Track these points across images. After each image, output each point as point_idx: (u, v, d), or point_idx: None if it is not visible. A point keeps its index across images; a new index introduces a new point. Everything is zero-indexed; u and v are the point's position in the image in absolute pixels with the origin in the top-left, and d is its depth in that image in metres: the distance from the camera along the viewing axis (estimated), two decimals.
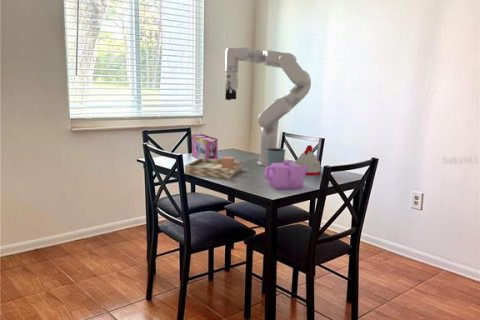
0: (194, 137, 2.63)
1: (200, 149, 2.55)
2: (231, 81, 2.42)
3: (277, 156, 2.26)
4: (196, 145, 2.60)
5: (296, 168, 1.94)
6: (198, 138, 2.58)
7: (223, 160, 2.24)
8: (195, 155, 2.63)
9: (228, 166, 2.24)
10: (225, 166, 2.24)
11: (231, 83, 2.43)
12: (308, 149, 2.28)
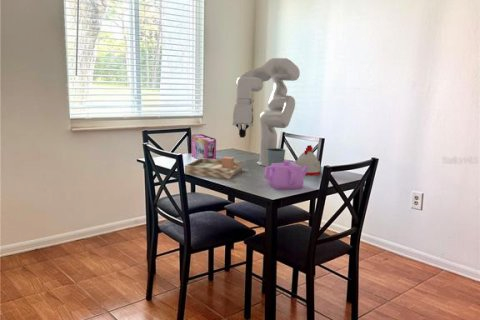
0: (193, 137, 2.63)
1: (199, 149, 2.55)
2: None
3: (277, 156, 2.26)
4: (195, 145, 2.60)
5: (296, 168, 1.94)
6: (197, 138, 2.57)
7: (223, 160, 2.24)
8: (194, 155, 2.63)
9: (228, 166, 2.24)
10: (225, 166, 2.24)
11: None
12: (308, 149, 2.28)
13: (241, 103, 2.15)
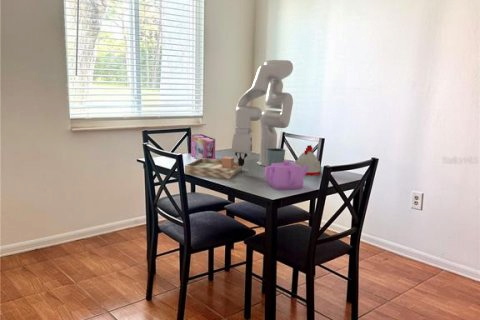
0: (193, 137, 2.63)
1: (198, 149, 2.55)
2: (251, 144, 2.22)
3: (277, 156, 2.26)
4: (195, 145, 2.60)
5: (296, 168, 1.94)
6: (196, 138, 2.57)
7: (223, 160, 2.24)
8: (194, 155, 2.63)
9: (228, 166, 2.24)
10: (225, 166, 2.24)
11: None
12: (308, 149, 2.28)
13: (240, 133, 2.17)
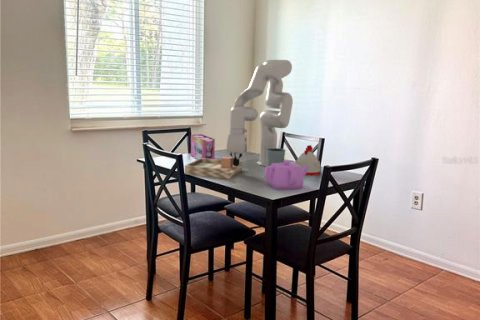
0: (193, 137, 2.63)
1: (197, 149, 2.55)
2: (246, 144, 2.23)
3: (277, 156, 2.26)
4: (194, 145, 2.60)
5: (296, 168, 1.94)
6: (196, 138, 2.57)
7: (222, 160, 2.24)
8: (193, 155, 2.63)
9: (227, 166, 2.24)
10: (224, 166, 2.24)
11: (246, 146, 2.23)
12: (308, 149, 2.28)
13: (235, 133, 2.18)
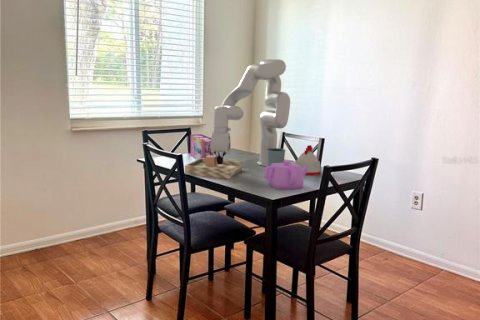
0: (192, 137, 2.63)
1: (197, 149, 2.55)
2: (230, 142, 2.26)
3: (277, 156, 2.26)
4: (194, 145, 2.60)
5: (296, 168, 1.94)
6: (195, 138, 2.57)
7: (206, 158, 2.26)
8: (193, 155, 2.63)
9: (211, 165, 2.26)
10: (208, 165, 2.27)
11: (230, 144, 2.26)
12: (308, 149, 2.28)
13: (218, 131, 2.21)
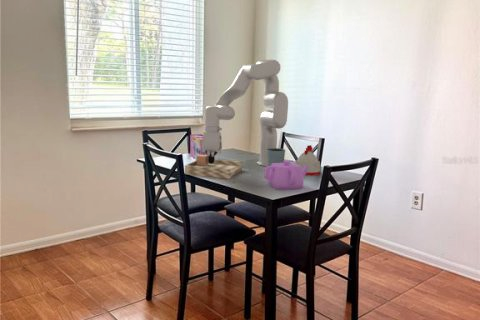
0: (192, 137, 2.63)
1: (196, 149, 2.55)
2: (221, 142, 2.27)
3: (277, 156, 2.26)
4: (193, 145, 2.60)
5: (296, 168, 1.94)
6: (195, 138, 2.57)
7: (197, 158, 2.28)
8: (192, 155, 2.63)
9: (202, 164, 2.28)
10: (199, 164, 2.28)
11: (221, 144, 2.27)
12: (308, 149, 2.28)
13: (209, 131, 2.22)
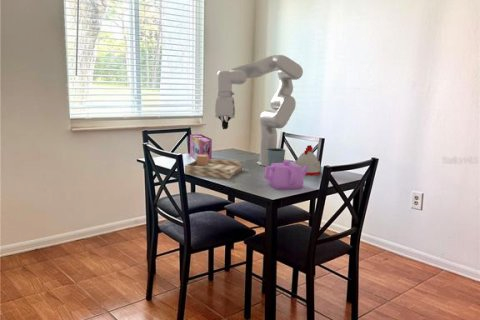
0: (191, 137, 2.63)
1: (195, 149, 2.55)
2: (234, 107, 2.26)
3: (277, 156, 2.26)
4: (192, 145, 2.60)
5: (296, 168, 1.94)
6: (194, 138, 2.57)
7: (197, 158, 2.28)
8: (192, 155, 2.63)
9: (202, 164, 2.28)
10: (199, 164, 2.28)
11: (234, 109, 2.27)
12: (308, 149, 2.28)
13: (222, 96, 2.21)
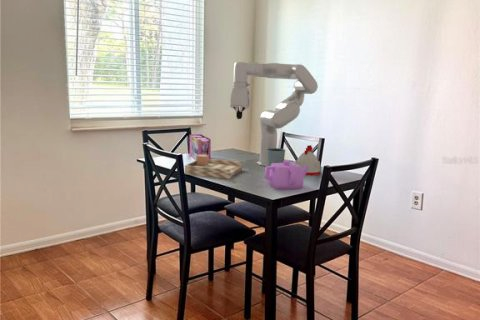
0: (191, 137, 2.63)
1: (194, 149, 2.55)
2: (249, 97, 2.33)
3: (277, 156, 2.26)
4: (192, 145, 2.60)
5: (296, 168, 1.94)
6: (193, 138, 2.57)
7: (197, 158, 2.28)
8: (191, 155, 2.63)
9: (202, 164, 2.28)
10: (199, 164, 2.28)
11: (249, 99, 2.34)
12: (308, 149, 2.28)
13: (238, 86, 2.29)
